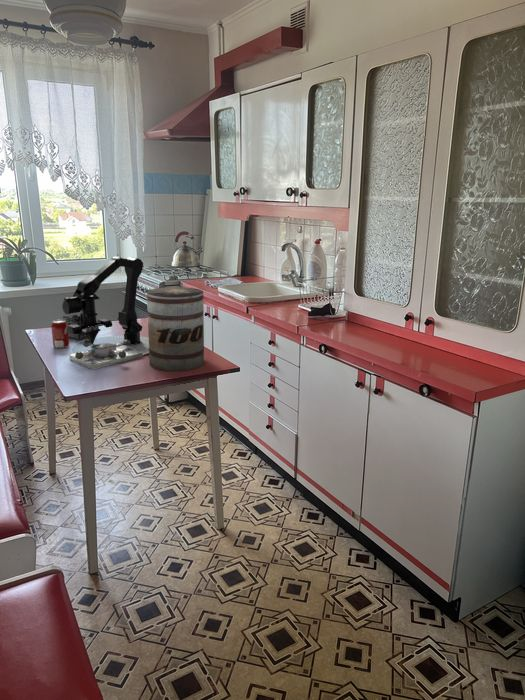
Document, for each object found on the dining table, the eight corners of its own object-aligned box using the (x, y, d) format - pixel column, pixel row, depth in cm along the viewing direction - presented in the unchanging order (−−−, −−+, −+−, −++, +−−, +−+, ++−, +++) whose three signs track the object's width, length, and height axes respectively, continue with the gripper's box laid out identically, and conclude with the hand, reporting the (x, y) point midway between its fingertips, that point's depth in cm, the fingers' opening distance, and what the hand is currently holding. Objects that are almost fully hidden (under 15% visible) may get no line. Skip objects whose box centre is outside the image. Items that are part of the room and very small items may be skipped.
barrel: (181, 375, 206) (180, 299, 197) (138, 365, 216) (134, 293, 208) (214, 360, 225) (214, 290, 216) (172, 351, 235) (171, 285, 226)
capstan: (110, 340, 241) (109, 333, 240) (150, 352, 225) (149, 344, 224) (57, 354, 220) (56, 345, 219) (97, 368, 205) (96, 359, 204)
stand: (119, 348, 238) (119, 343, 238) (142, 357, 227) (142, 351, 226) (69, 359, 222) (69, 353, 221) (92, 369, 210) (91, 363, 209)
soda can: (64, 349, 234) (61, 323, 231) (50, 348, 236) (47, 322, 232) (72, 345, 241) (70, 319, 237) (58, 344, 242) (56, 318, 238)
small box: (89, 337, 254) (88, 316, 251) (78, 340, 248) (77, 319, 245) (75, 334, 259) (73, 313, 256) (64, 337, 254) (62, 315, 251)
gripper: (98, 304, 238) (100, 337, 243) (58, 310, 225) (62, 345, 230) (111, 308, 231) (114, 342, 236) (71, 315, 218) (75, 351, 223)
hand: (91, 345), depth 231 cm, fingers closed
